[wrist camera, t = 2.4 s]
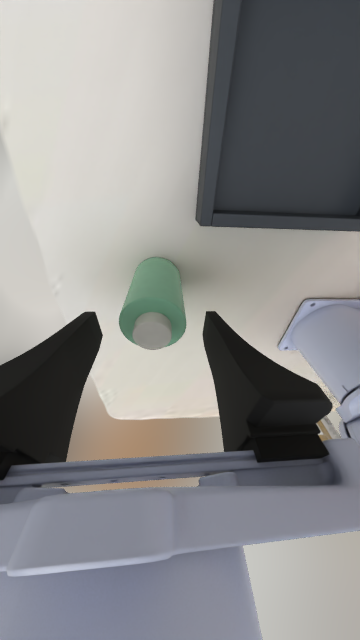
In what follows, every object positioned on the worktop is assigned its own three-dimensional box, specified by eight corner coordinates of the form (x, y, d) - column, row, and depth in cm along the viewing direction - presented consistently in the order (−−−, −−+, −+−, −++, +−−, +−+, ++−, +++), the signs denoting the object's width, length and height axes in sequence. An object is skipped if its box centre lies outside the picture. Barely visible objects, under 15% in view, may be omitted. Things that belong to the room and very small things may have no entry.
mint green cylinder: (181, 257, 16) (190, 307, 9) (179, 299, 18) (185, 359, 12) (131, 256, 15) (107, 307, 9) (137, 298, 18) (121, 360, 12)
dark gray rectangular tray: (526, -70, 8) (649, -156, 6) (352, 225, 15) (380, 232, 13) (223, -124, 7) (247, -249, 5) (195, 219, 14) (200, 226, 12)
